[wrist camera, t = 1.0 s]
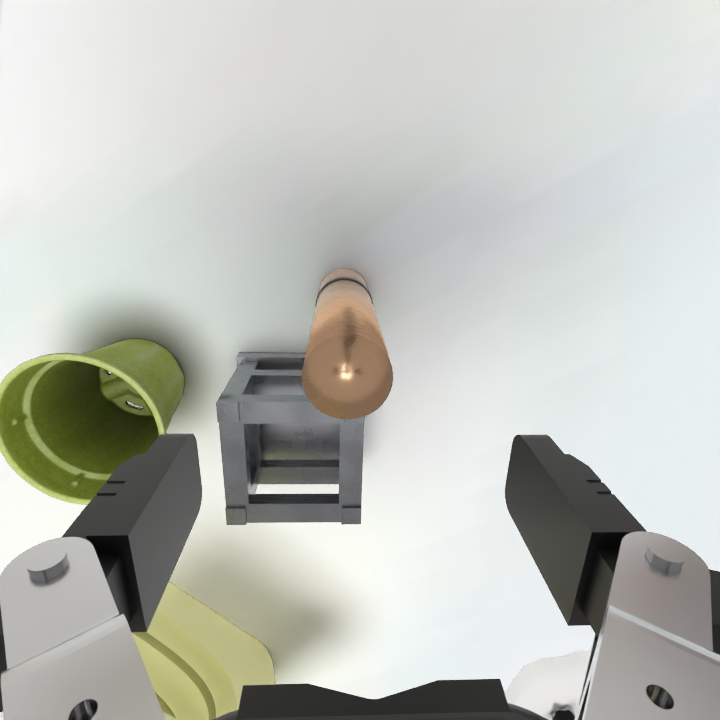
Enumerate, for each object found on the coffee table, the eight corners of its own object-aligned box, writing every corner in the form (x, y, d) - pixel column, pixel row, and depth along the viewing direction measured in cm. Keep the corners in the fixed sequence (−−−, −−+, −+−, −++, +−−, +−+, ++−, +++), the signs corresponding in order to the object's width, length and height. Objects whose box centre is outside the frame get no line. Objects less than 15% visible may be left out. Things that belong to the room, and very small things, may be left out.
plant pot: (64, 410, 34) (-22, 477, 26) (89, 294, 31) (2, 329, 23) (188, 449, 36) (143, 523, 28) (222, 342, 33) (184, 390, 25)
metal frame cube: (239, 352, 33) (210, 398, 26) (363, 353, 34) (369, 399, 26) (246, 459, 36) (222, 528, 29) (359, 459, 37) (365, 527, 29)
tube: (318, 267, 31) (299, 332, 16) (369, 268, 32) (396, 334, 17) (318, 316, 33) (301, 420, 18) (367, 317, 33) (391, 420, 18)
